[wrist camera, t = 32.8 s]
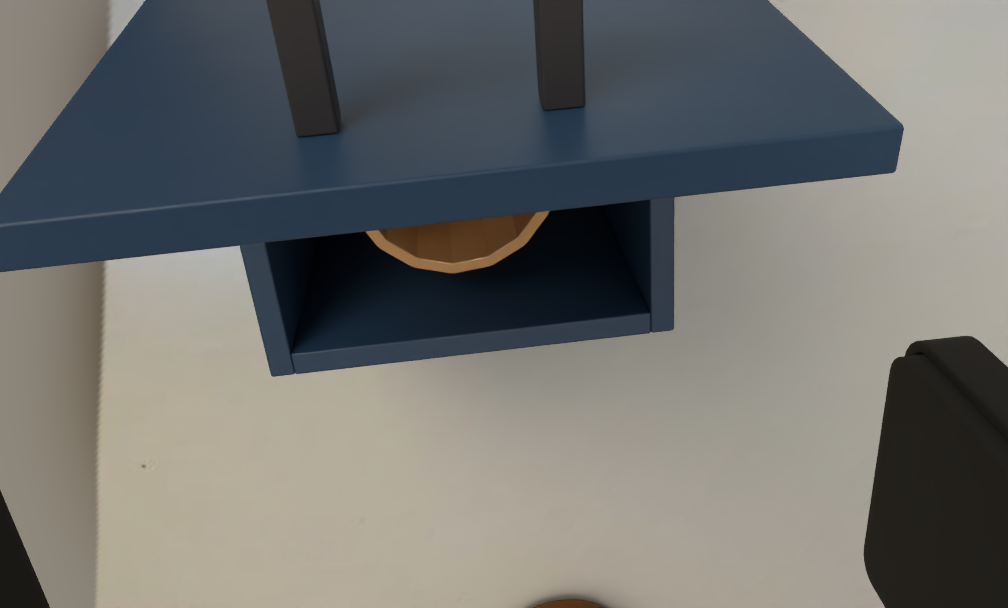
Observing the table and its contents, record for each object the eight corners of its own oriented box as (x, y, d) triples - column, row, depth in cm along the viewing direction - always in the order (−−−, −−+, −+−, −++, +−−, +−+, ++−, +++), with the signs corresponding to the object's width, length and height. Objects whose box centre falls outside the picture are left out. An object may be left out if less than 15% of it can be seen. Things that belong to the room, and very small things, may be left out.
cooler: (612, 206, 41) (674, 330, 31) (307, 240, 41) (271, 377, 31) (602, -101, 35) (675, -68, 25) (245, -65, 35) (175, -17, 25)
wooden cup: (328, 123, 37) (304, 206, 30) (417, -22, 35) (418, 25, 27) (468, 208, 40) (480, 306, 32) (560, 76, 37) (599, 146, 29)
